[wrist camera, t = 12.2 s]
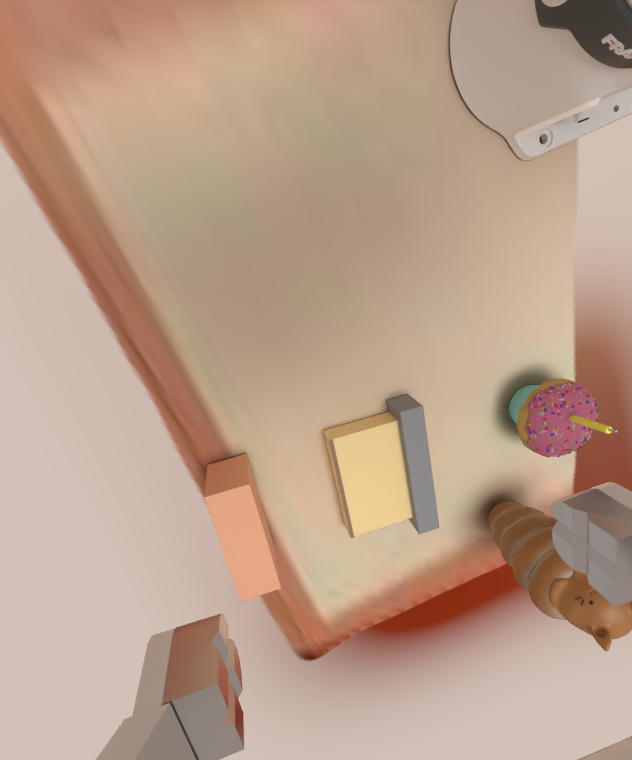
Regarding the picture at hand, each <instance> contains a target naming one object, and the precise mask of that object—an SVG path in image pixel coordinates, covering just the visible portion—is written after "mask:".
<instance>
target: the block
mask: <svg viewBox="0 0 632 760" xmlns="http://www.w3.org/2000/svg"><path fill="white" fill-rule="evenodd" d="M204 498H205V501H206V504H207V507H208V510H209V513H210V515H211V518H212V521H213V524H214V527H215V529H216V532H217V535H218V538H219V541H220V544H221V546H222V549H223V552H224V555H225V558H226V561H227V564H228V567H229V569H230V572H231V575H232V578H233V581H234V584H235V586H236V589H237V592H238V595H239V598H240V601H245V600H247V599H251V598H254V597H257V596H260V595H262V594H265V593H268V592H271V591H274V590H277V589H280V588H281V584H280V577H279V571H278V565H277V559H276V553H275V547H274V544H273V540H272V537H271V534H270V530H269V527H268V524H267V520H266V517H265V514H264V510H263V507H262V504H261V500H260V497H259V494H258V490H257V487H256V484H255V480H254V477H253V474H252V470H251V467H250V464H249V460H248V457H247V454H243V455H240V456H236V457H233V458H229V459H226V460H222V461H219V462H215V463H212V464H208V465H207V475H206V485H205V495H204Z"/></svg>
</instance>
